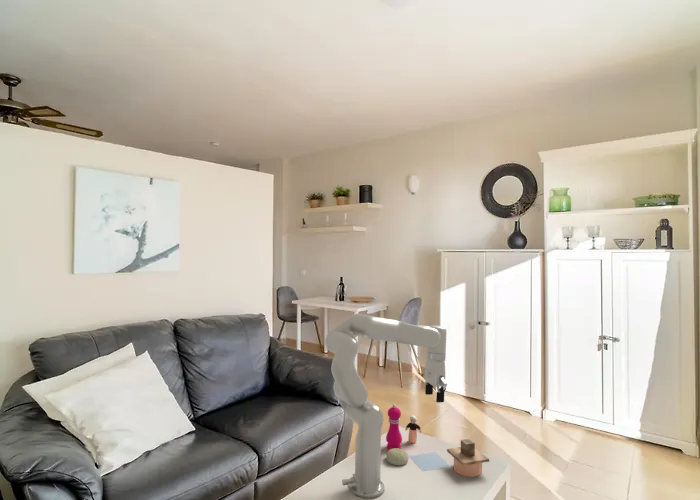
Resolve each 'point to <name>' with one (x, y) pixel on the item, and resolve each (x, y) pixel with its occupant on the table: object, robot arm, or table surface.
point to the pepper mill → (394, 428)
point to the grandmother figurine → (412, 430)
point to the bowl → (468, 469)
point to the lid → (467, 453)
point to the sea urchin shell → (397, 456)
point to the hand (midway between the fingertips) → (434, 398)
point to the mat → (429, 461)
